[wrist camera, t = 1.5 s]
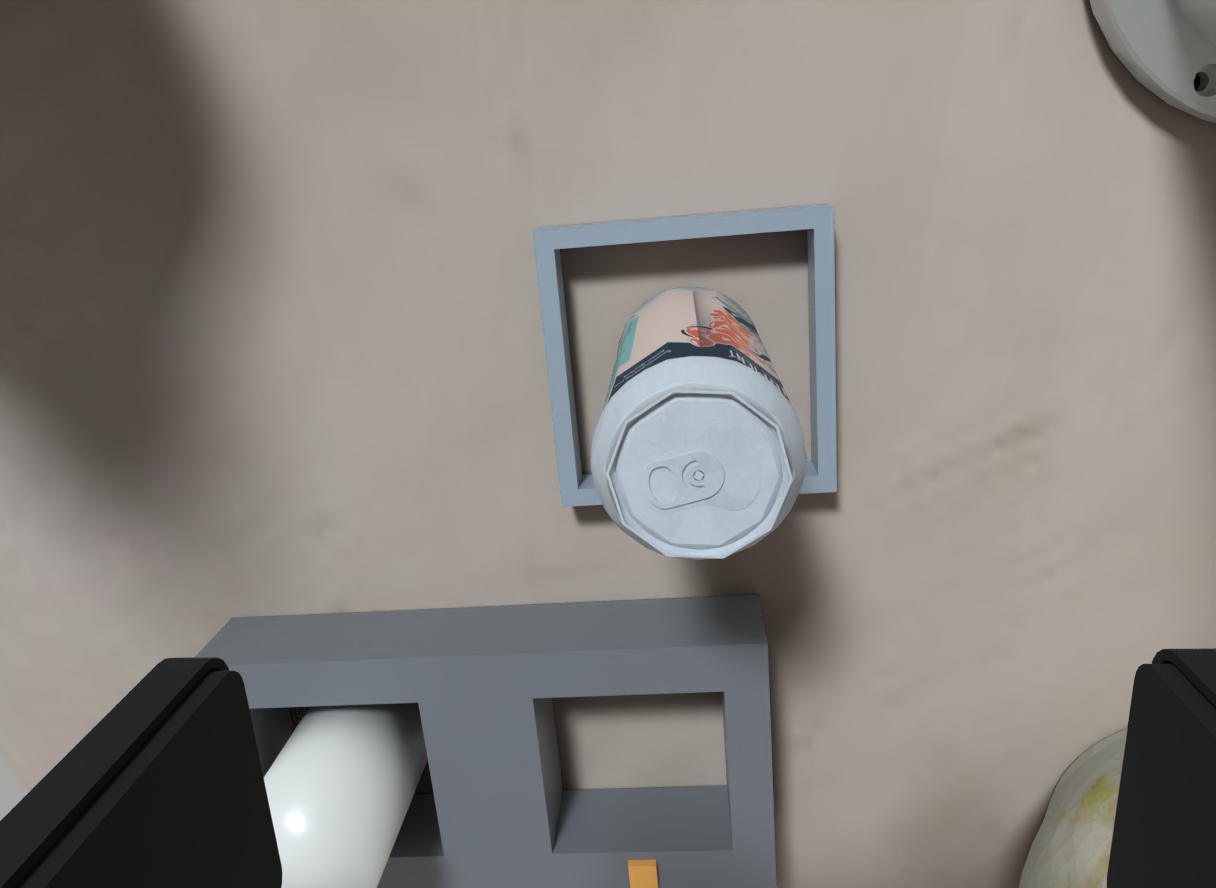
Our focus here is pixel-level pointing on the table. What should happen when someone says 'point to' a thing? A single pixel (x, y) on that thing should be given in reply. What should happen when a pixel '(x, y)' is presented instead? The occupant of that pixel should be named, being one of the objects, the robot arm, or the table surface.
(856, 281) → the table surface
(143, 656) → the table surface
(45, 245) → the table surface
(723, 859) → the two-slot holder block
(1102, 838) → the sugar bowl
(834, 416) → the hollow square frame
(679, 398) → the beer can
